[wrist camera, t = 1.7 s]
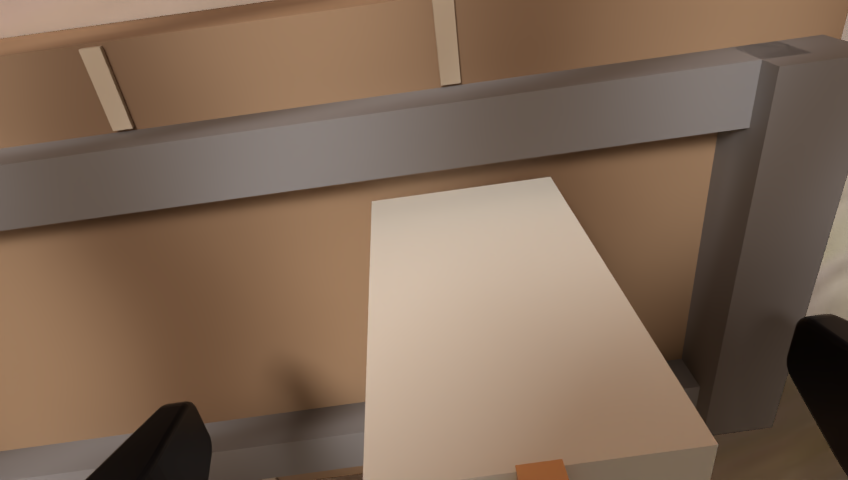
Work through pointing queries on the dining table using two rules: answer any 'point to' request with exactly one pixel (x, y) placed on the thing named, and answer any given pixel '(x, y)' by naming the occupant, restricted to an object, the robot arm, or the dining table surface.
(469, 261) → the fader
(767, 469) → the dining table surface
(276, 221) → the brown wooden tray
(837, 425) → the robot arm
